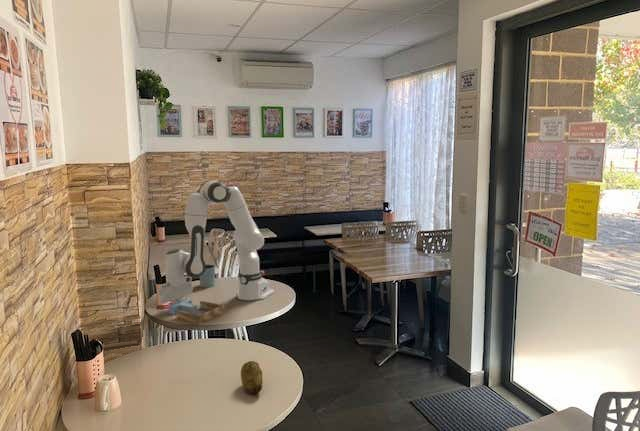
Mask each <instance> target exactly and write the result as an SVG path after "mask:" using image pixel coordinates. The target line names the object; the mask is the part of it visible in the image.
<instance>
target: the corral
mask: <svg viewBox="0 0 640 431" xmlns="http://www.w3.org/2000/svg"><path fill="white" fill-rule="evenodd" d="M199 306H200V307H199V308H200V309H203V310H207V311H206V312H204V313H202V314H198V313H195V314H193V313H188V312H184V311H179V310H178V311H176V313H177V314H176V318H177V319H180V320H184V321H187V322H188V321H189V322H192V323H197V324H202V323H204V322H206V321H209V320H211V319H213V318H215V317H217V316H219V315H221V314H224V313H225V305H223V304H219V303H213V302H209V301H204V300H200V301H199Z"/></svg>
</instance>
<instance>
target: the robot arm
mask: <svg viewBox="0 0 640 431" xmlns="http://www.w3.org/2000/svg"><path fill="white" fill-rule="evenodd" d="M211 203H217V204H218V203H223V205H224V207H225V210H226V213H227V215H228V217H229V221H230V224H232V226H233V227H234V231H233V240H234V242H235V245H236V246H235V247H236V250H237V256H238V265H239V267H238V268H239V272H238V279H239V281H238V286H237V292H236V296H237V299H239V300H241V301H255V300H256V301H257V300H265V299H266V298H267V297H269V296H271V294H273V293H275V289H273V288H271V287H270V286H271V285H270V282H269V280H267V279H265V278H264V277H263V276H262V275H265V270H260V257H259V255H258V252H257V250H260V249H261V248H262V247H263V246H264V244H265V236H264V235H263V234H262V233H261V231H260V229H259V227H258V226H257V223H256V222H255V221H254V219H253V218H252V216H251V212H250V211H249V208H248V205H247V203H246V201H245V198H244V196H243V194H242V192H241V191H240V189H239V188H238V187H237V186H227V185H226V184H224V183H223V182H220V181H218V180H207V181H205V182H203V183H202V184H201V185H200V187H199V188H198V190H197V192H193V193H191V194H189V196H188V197H187V200H186V205H185V213H184V223H185V228H186V230H187V232H188V235H189V237H190V238H189V239H190V248H189V249H190V253H189V252H186V251H183V250H182V249H180V248H174V249H170V250H169V251H167V252H166V254H165V260H164V261H165V262H164V264H165V270H166V272H165V273H166V274H165V280H166V282H165V284H161V285H160V287H159V288H158V302H159V303H161V304H166V303H169V302H171V303H172V304H175V303H177V302H180V301H182V298H184V297H186V296H188V295H189V296H190V295H191V294H192V293H193V290H194V287H193V282H192V279H198V278H200V276H202V275H203V274H204V273H205V270H206V265H207V264H206V262H205V258H204V246H205V245H204V243H205V233H206V226H207V218H208V209H209V206H210V204H211ZM185 273H186V275H185Z"/></svg>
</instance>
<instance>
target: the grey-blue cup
mask: <svg viewBox="0 0 640 431" xmlns="http://www.w3.org/2000/svg"><path fill="white" fill-rule="evenodd" d="M205 265H206V270H205V273H204V274H203V275H202V276H200V277H199V284H200V285H199V286H200V287H201V288H212V287H214V286H216V285H215V283H216V280H215V279H216V276H215V275H216V265H214V264H205Z"/></svg>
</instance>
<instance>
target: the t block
mask: <svg viewBox="0 0 640 431" xmlns="http://www.w3.org/2000/svg"><path fill="white" fill-rule="evenodd" d="M176 302H177V301H176ZM167 310H168V314H169V315H177V313H176V311H178V310H179V311H184V312H188V313H193V314H198V305H197V304H194V303H192V300H191V299H187V298H185V299H182V300H181V301H180V302H177V303H175V304H173V303H172V304H169V305H168V309H167Z"/></svg>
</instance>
